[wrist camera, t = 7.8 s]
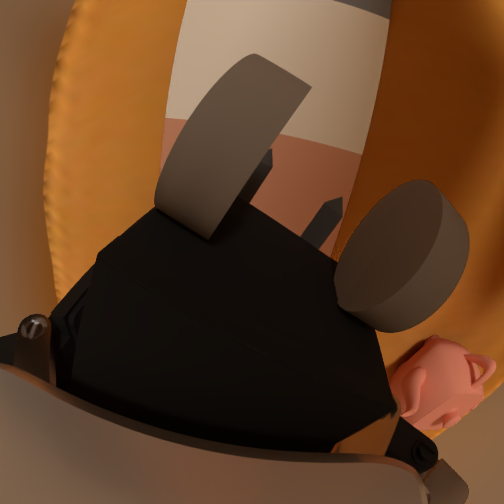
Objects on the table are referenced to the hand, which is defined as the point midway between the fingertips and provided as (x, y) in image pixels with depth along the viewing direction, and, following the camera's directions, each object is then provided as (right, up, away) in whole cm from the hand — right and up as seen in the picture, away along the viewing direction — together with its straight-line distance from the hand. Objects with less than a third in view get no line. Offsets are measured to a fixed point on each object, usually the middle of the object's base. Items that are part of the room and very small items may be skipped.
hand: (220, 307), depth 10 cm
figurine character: (0, +1, +1) cm, 1 cm away
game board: (+3, +15, +4) cm, 16 cm away
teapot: (+23, -11, +17) cm, 31 cm away
